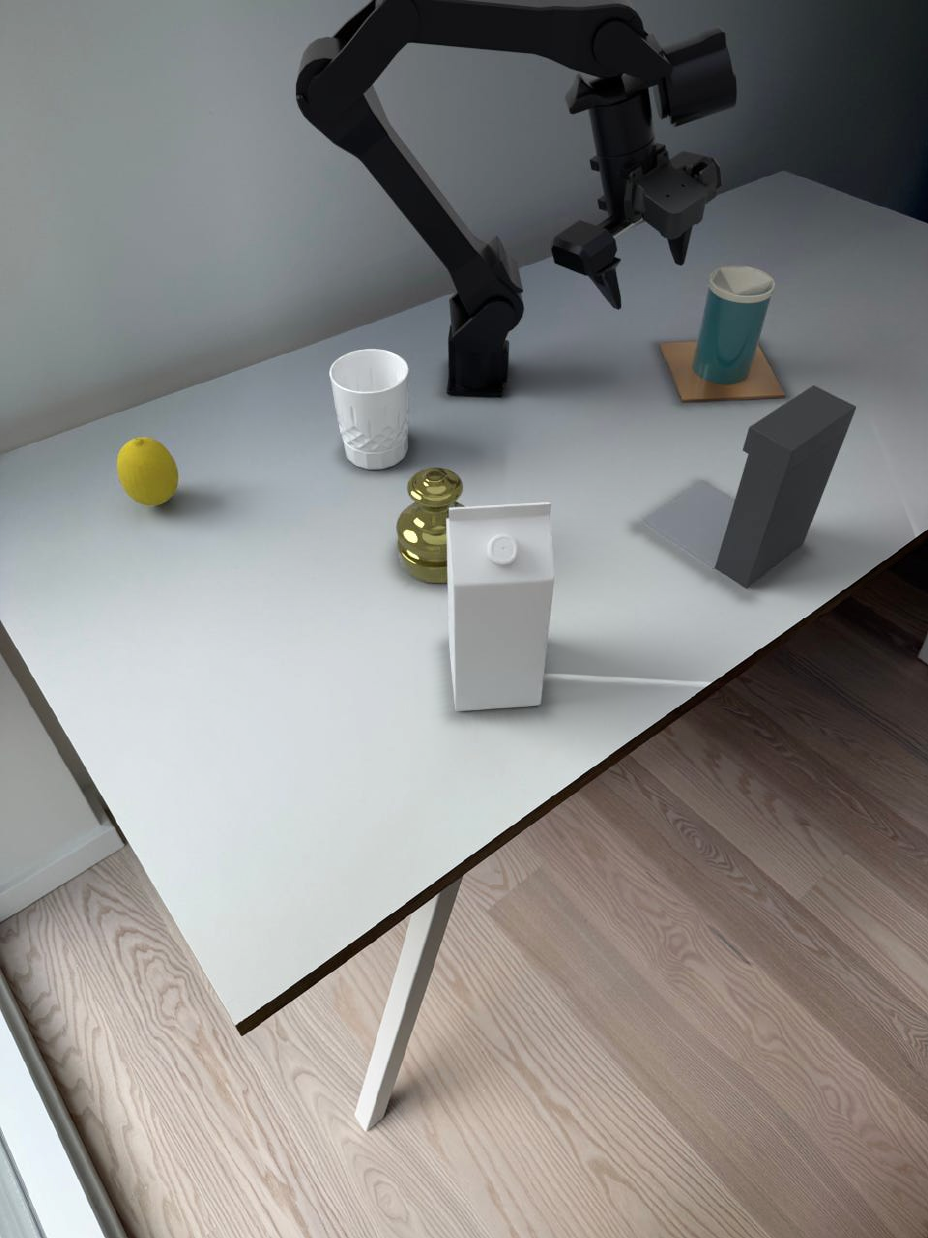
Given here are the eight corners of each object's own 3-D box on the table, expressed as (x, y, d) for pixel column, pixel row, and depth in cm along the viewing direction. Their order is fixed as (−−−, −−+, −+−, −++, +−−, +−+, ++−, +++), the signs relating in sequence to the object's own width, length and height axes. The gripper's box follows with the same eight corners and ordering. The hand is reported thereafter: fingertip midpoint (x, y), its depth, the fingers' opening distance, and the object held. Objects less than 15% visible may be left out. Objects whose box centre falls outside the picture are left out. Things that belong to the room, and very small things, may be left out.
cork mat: (682, 402, 102) (683, 399, 102) (659, 345, 110) (660, 342, 110) (784, 397, 103) (785, 394, 103) (754, 341, 111) (755, 339, 111)
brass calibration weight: (419, 595, 82) (414, 513, 75) (386, 546, 86) (378, 464, 79) (489, 569, 84) (492, 487, 77) (454, 522, 89) (453, 440, 81)
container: (732, 391, 103) (755, 303, 95) (680, 369, 106) (698, 282, 98) (761, 366, 107) (786, 278, 98) (710, 345, 110) (730, 258, 101)
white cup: (402, 478, 93) (397, 396, 86) (330, 468, 94) (319, 387, 87) (420, 433, 98) (416, 353, 91) (351, 425, 99) (342, 344, 92)
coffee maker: (639, 527, 88) (668, 384, 76) (701, 485, 92) (737, 344, 80) (742, 596, 82) (790, 452, 70) (803, 548, 86) (859, 404, 74)
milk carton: (448, 646, 78) (445, 475, 64) (529, 641, 78) (543, 470, 64) (455, 712, 73) (452, 544, 59) (541, 706, 74) (559, 537, 59)
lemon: (196, 492, 92) (177, 428, 86) (167, 526, 88) (145, 462, 82) (149, 481, 93) (128, 417, 87) (119, 514, 89) (94, 450, 84)
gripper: (607, 207, 79) (634, 355, 90) (758, 105, 83) (766, 259, 94) (531, 184, 86) (566, 323, 98) (673, 91, 90) (691, 235, 101)
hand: (648, 285), depth 97 cm, fingers open, 9 cm apart
